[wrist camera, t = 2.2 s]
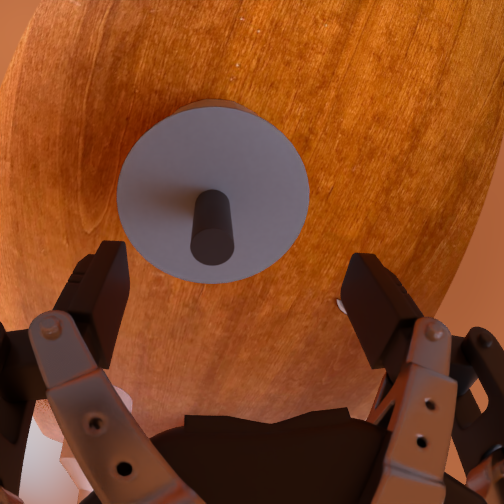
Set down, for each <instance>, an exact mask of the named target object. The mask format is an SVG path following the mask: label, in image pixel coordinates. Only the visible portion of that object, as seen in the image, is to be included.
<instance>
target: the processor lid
mask: <svg viewBox="0 0 504 504" xmlns="http://www.w3.org/2000/svg"><path fill="white" fill-rule="evenodd" d="M308 204H309V185H308V178H307V174H306V171H305V167H304V165H303V162H302V160H301V158H300V156H299V154H298V152H297V151H296V149H295V148H294V146H293V145H292V143H291V142H290V141H289V140H288V139H287V138H286V137H285V135H284V134H283V133H282V132H280V131H279V130H278V129H277V128H276V127H275V126H273V125H272V124H271V123H269V122H267V121H266V120H264V119H263V118H261V117H259V116H257V115H254V114H252V113H250V112H247V111H244V110H240V109H237V108H231V107H225V106H203V107H196V108H191V109H187V110H184V111H180V112H178V113H175V114H173V115H171V116H168V117H166V118H165V119H163V120H162V121H160V122H158V123H157V124H155V125H154V126H153V127H151V128H150V129H149V130H148V131H147V132H145V133H144V134H143V136H142V137H141V138H140V139H139V140H138V141H137V142H136V143H135V145H134V146H133V148H132V149H131V150H130V152H129V153H128V155H127V157H126V159H125V161H124V164H123V166H122V169H121V172H120V175H119V179H118V186H117V207H118V213H119V217H120V220H121V224H122V226H123V229H124V231H125V233H126V235H127V237H128V238H129V240H130V242H131V243H132V245H133V246H134V247H135V248H136V250H137V251H138V252H139V253H140V254H141V255H142V256H143V257H144V258H145V259H146V260H147V261H148V262H150V263H151V264H152V265H154V266H155V267H157V268H158V269H160V270H162V271H163V272H165V273H167V274H169V275H172V276H174V277H177V278H180V279H183V280H186V281H191V282H196V283H206V284H216V283H227V282H232V281H237V280H241V279H244V278H247V277H250V276H252V275H254V274H257V273H259V272H261V271H262V270H264V269H266V268H267V267H269V266H271V265H272V264H273V263H274V262H276V261H277V260H278V259H279V258H281V257H282V256H283V255H284V254H285V253H286V252H287V250H288V249H289V248H290V247H291V245H292V244H293V243H294V241H295V240H296V238H297V237H298V235H299V233H300V231H301V229H302V227H303V224H304V222H305V218H306V215H307V211H308Z"/></svg>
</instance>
